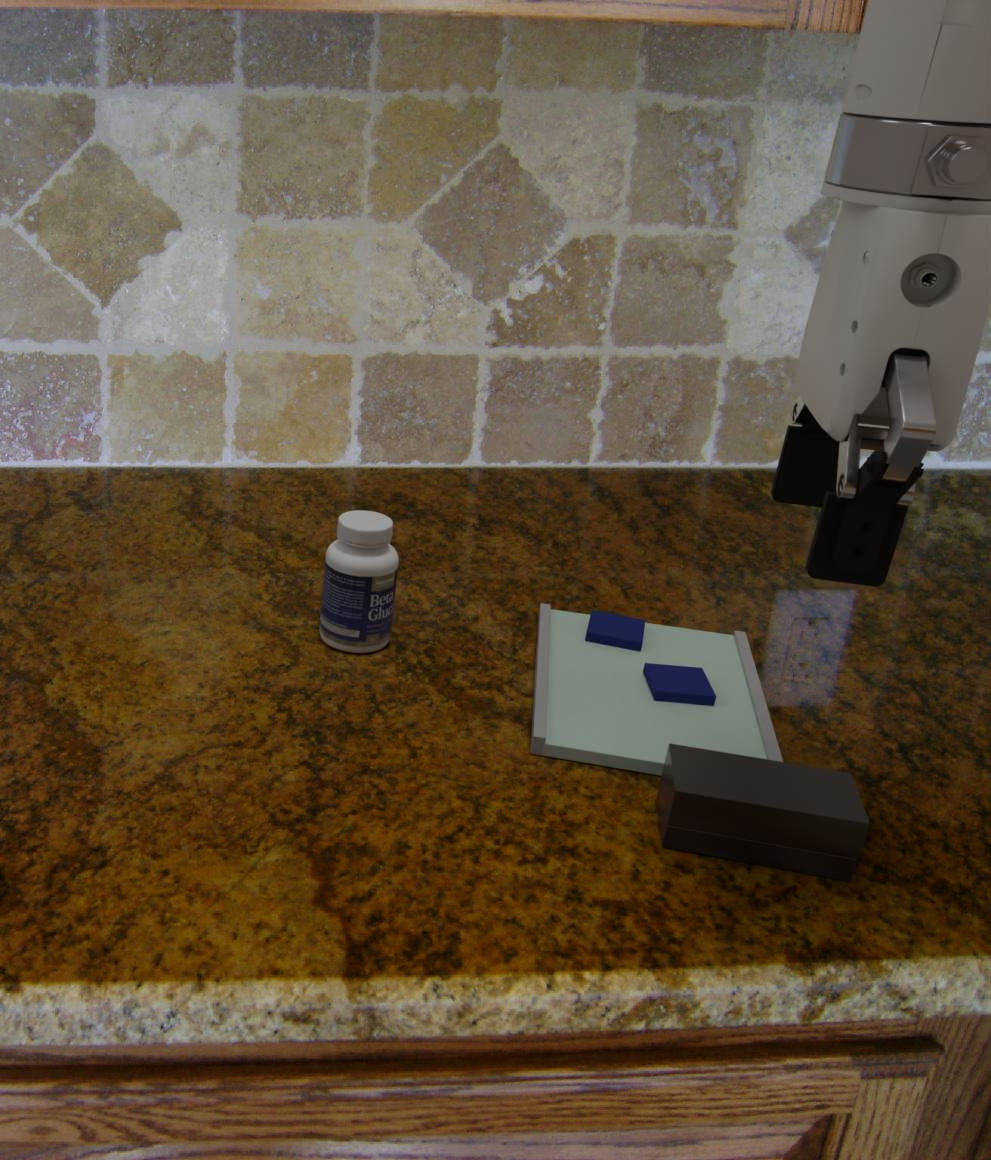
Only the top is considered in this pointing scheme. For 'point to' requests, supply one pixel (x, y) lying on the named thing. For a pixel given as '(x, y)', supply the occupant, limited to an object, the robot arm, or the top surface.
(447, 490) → the top surface
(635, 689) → the board
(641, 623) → the smudge
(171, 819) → the top surface
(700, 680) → the smudge
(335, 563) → the pill bottle
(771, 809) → the eraser
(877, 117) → the robot arm
